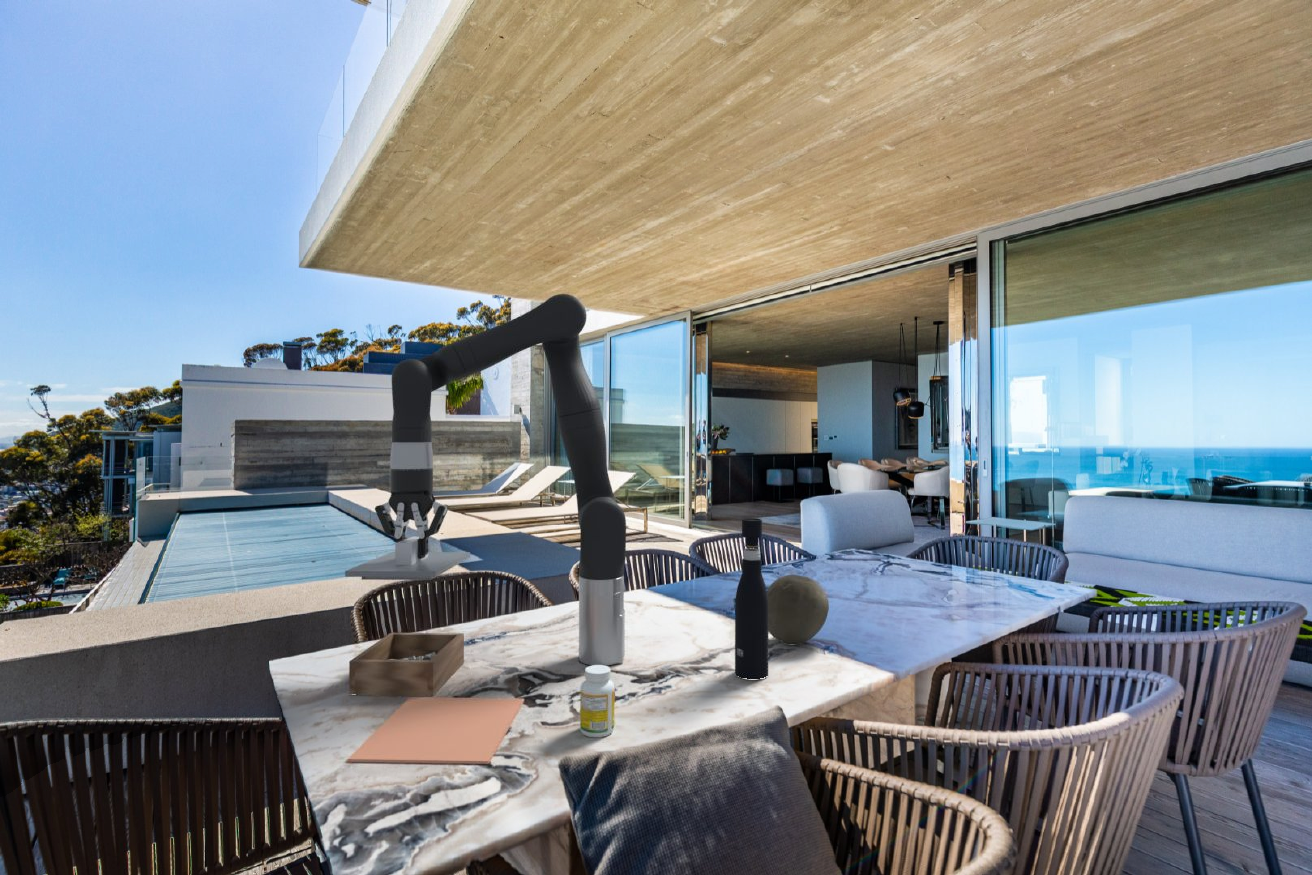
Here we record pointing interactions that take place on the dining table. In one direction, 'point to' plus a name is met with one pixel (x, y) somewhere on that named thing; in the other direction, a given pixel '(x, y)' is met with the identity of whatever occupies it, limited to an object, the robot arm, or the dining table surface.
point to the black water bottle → (751, 609)
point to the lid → (407, 563)
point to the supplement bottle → (597, 702)
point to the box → (406, 664)
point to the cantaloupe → (796, 609)
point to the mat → (441, 731)
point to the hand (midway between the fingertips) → (412, 557)
